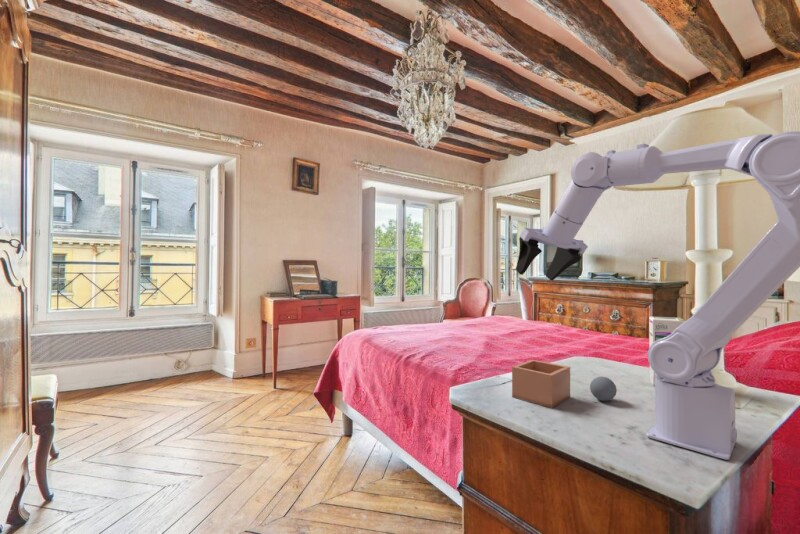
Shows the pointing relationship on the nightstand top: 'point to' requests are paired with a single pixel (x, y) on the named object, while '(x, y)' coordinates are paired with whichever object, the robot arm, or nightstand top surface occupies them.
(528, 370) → the open square bin
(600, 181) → the robot arm
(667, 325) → the syrup box
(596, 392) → the ball
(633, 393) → the nightstand top surface
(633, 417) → the nightstand top surface
